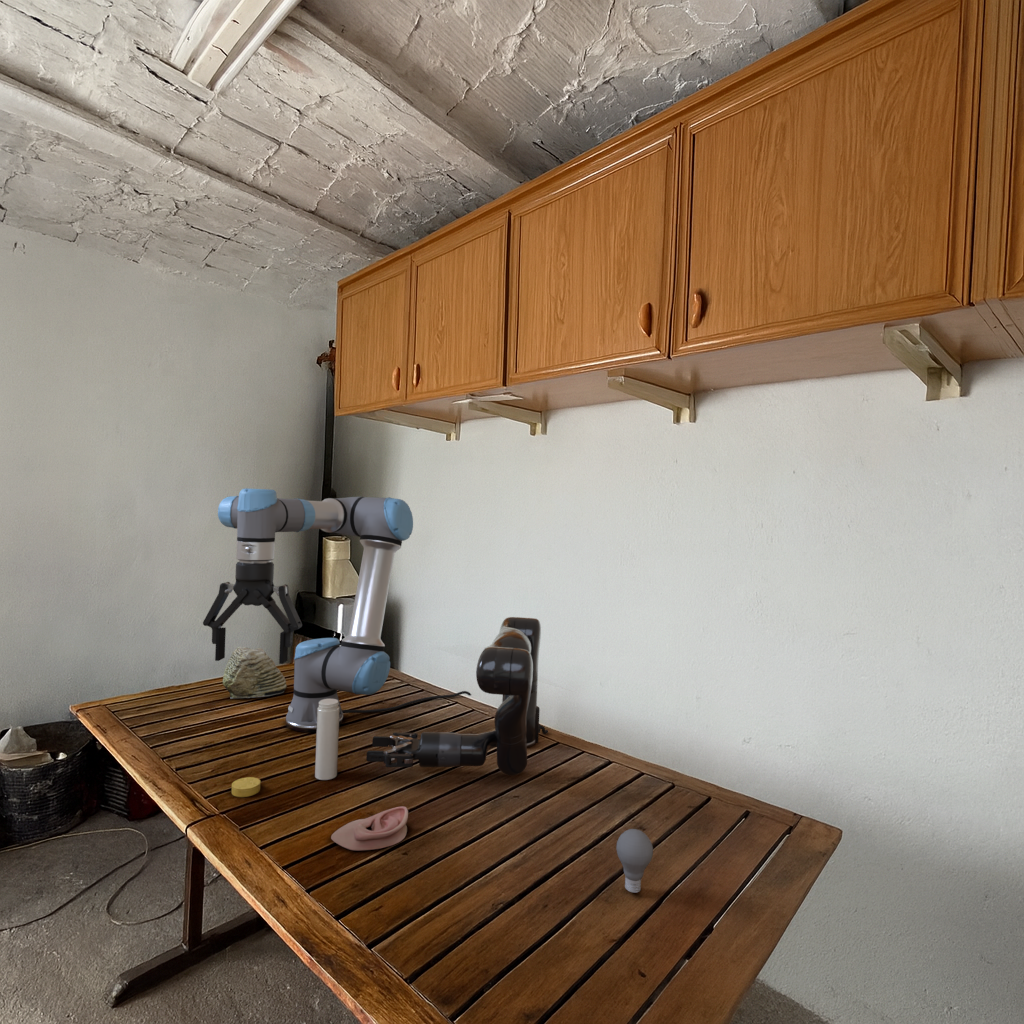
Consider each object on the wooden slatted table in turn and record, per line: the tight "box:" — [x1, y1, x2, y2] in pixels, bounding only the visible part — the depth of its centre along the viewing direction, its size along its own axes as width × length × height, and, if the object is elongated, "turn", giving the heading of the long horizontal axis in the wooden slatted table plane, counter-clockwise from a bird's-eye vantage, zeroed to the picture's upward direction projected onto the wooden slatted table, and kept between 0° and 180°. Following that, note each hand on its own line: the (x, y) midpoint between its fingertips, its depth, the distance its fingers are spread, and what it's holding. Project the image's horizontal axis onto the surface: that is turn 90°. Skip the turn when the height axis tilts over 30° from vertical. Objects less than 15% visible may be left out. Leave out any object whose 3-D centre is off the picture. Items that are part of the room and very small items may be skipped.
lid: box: [230, 776, 261, 798], centre depth 135 cm, size 6×6×2 cm
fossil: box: [222, 646, 288, 699], centre depth 198 cm, size 9×18×15 cm, turn 132°
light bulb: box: [615, 828, 654, 894], centre depth 106 cm, size 6×6×10 cm
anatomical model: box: [330, 805, 409, 852], centre depth 119 cm, size 13×4×12 cm
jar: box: [314, 699, 340, 781], centre depth 144 cm, size 5×5×17 cm
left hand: (251, 660), depth 135 cm, fingers open, 13 cm apart
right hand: (369, 748), depth 145 cm, fingers open, 8 cm apart
